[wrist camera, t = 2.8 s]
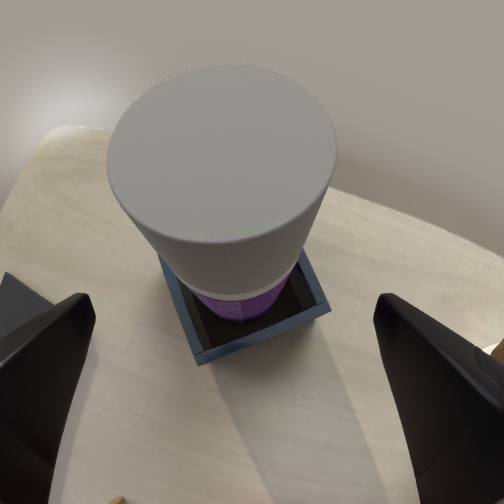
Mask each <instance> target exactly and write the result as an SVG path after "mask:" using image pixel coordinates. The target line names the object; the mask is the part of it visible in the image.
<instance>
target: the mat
mask: <svg viewBox="0 0 504 504" xmlns="http://www.w3.org/2000/svg"><path fill="white" fill-rule="evenodd" d="M53 306H54V304H52V303H51V302H49V301H48V300H46V299H45V298H43V297H42V296H40V295H39V294H37V293H36V292H34V291H33V290H32V289H30V288H29V287H27V286H26V285H24V284H23V283H22V282H20V281H19V280H18V279H16V278H15V277H14V276H12V275H11V274H10V273H7V272H5V274H4V277H3V280H2V282H1V285H0V338H2V337H4V336H5V335H7V334H8V333H10V332H12V331H13V330H15V329H16V328H18V327H20V326H21V325H23V324H25V323H26V322H28V321H29V320H31V319H33V318H34V317H36V316H38V315H39V314H41V313H43V312H44V311H46V310H48V309H49V308H51V307H53Z"/></svg>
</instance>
